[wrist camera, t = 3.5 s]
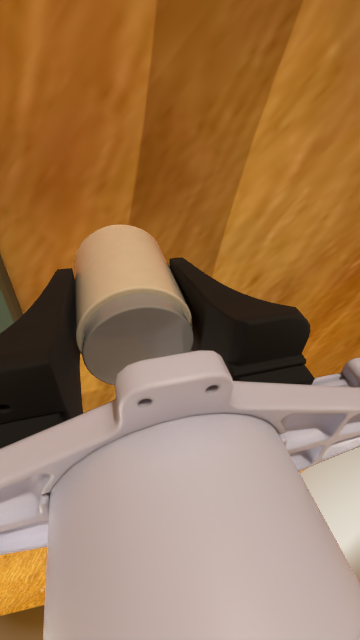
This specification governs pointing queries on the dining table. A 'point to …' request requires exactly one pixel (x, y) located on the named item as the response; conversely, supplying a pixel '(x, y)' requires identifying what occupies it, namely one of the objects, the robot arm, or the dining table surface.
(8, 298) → the shelf
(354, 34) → the dining table surface
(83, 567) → the robot arm
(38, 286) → the dining table surface
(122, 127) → the dining table surface
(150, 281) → the salt shaker
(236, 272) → the dining table surface
